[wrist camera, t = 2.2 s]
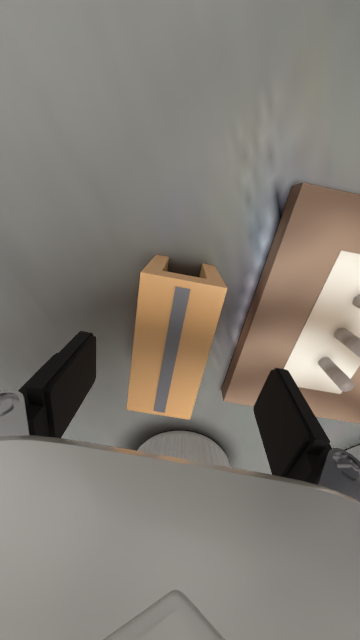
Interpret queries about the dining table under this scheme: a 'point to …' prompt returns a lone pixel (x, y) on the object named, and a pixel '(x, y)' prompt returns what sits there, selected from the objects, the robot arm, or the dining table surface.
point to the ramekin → (186, 447)
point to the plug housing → (172, 337)
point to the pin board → (307, 307)
